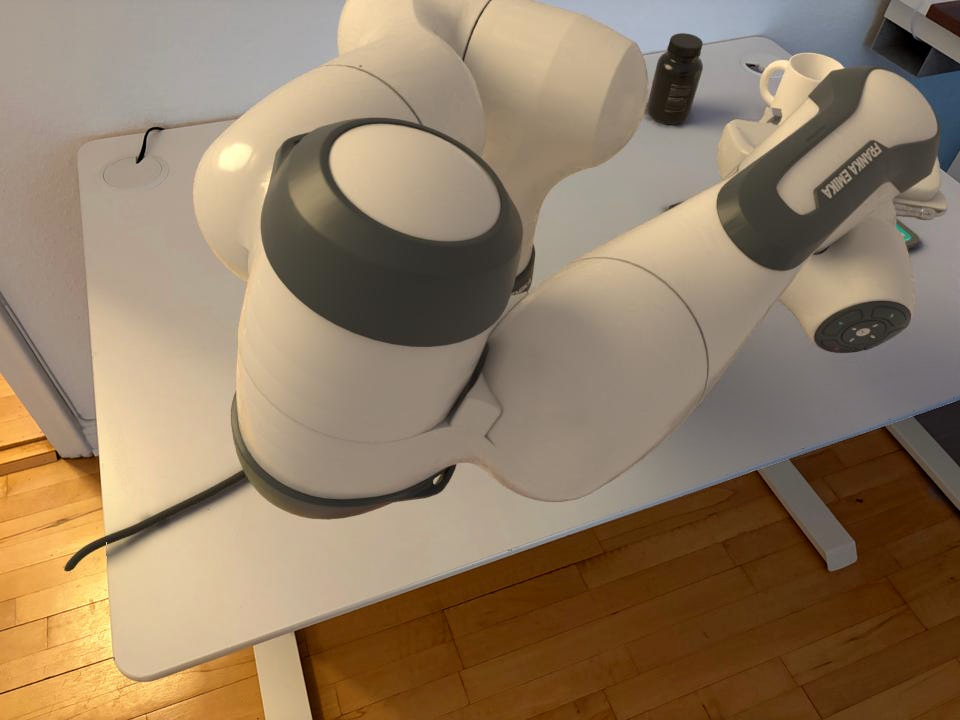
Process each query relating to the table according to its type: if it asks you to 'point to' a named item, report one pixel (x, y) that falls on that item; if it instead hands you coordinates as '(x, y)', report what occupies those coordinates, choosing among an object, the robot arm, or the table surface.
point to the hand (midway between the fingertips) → (816, 119)
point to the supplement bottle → (676, 80)
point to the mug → (796, 80)
